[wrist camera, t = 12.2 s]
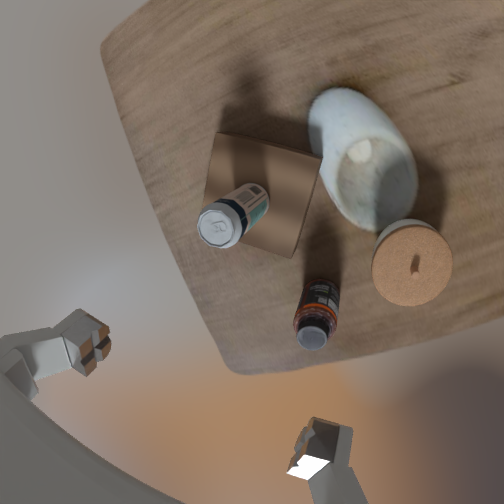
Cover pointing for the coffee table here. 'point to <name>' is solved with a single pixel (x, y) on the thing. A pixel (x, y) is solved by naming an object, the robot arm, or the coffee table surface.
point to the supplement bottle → (317, 314)
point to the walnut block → (265, 186)
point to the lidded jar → (411, 262)
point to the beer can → (232, 215)
